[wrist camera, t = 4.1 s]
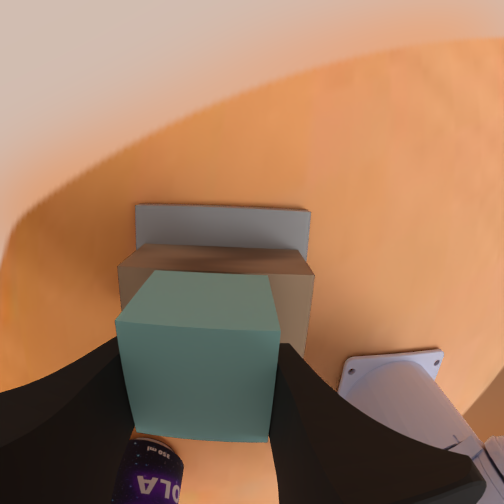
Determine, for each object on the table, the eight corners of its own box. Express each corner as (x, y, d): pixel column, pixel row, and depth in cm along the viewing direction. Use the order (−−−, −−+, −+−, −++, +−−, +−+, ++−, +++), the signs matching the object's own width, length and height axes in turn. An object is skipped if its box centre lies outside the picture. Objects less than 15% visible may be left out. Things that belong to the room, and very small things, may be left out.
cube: (260, 369, 12) (267, 442, 8) (161, 363, 12) (136, 432, 8) (267, 275, 11) (280, 330, 7) (154, 270, 11) (114, 320, 7)
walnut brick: (298, 249, 16) (314, 275, 12) (291, 319, 17) (303, 359, 14) (144, 243, 16) (117, 266, 12) (148, 312, 17) (126, 349, 13)
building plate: (292, 356, 19) (293, 363, 18) (148, 349, 19) (145, 355, 18) (307, 210, 17) (310, 212, 16) (139, 203, 16) (135, 205, 15)
